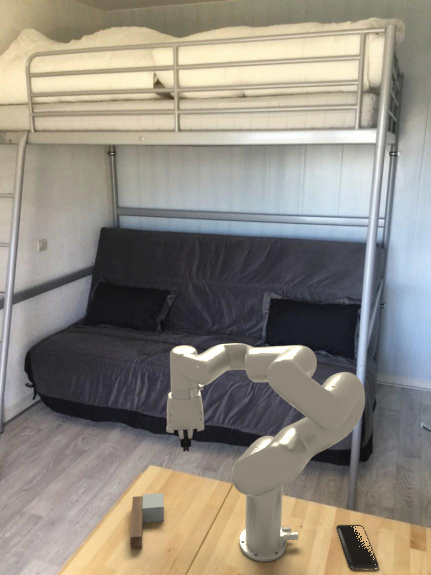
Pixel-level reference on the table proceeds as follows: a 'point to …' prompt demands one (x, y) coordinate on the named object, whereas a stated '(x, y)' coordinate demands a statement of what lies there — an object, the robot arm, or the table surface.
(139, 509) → the brown wooden bar
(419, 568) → the table surface
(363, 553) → the phone
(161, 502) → the block
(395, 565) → the table surface
